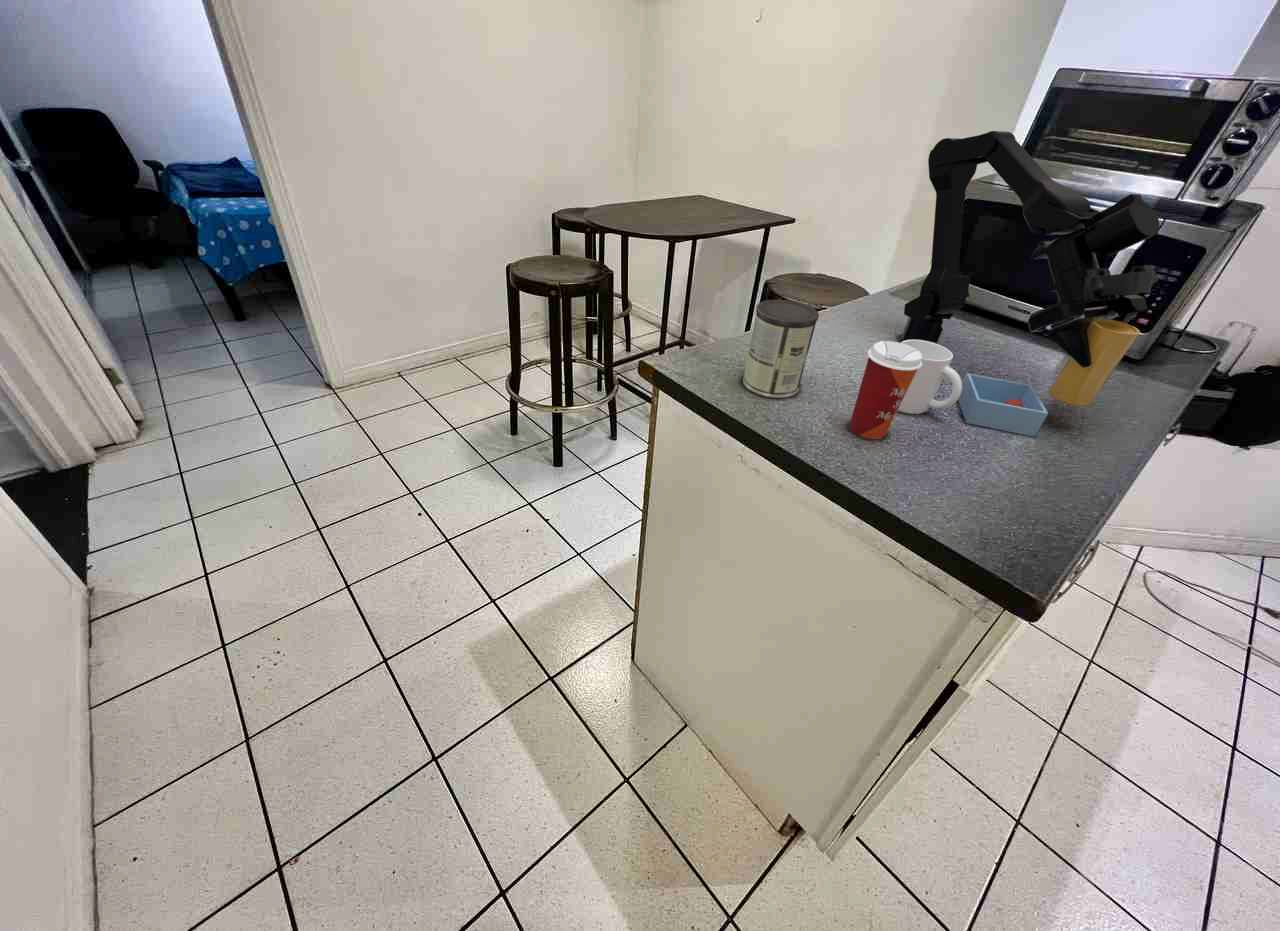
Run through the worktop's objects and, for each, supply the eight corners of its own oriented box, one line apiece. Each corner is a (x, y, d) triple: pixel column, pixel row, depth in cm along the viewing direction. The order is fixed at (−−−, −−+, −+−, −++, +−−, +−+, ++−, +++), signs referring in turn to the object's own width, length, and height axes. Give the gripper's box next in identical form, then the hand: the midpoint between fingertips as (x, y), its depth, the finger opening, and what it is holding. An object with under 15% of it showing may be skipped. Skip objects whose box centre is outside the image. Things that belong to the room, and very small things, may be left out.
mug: (958, 417, 90) (985, 362, 84) (932, 430, 86) (959, 374, 80) (896, 387, 98) (917, 335, 92) (870, 398, 94) (890, 345, 88)
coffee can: (761, 366, 102) (777, 294, 93) (808, 385, 97) (830, 311, 88) (731, 383, 96) (744, 307, 87) (779, 404, 90) (799, 326, 82)
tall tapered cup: (1054, 401, 86) (1099, 329, 79) (1043, 384, 91) (1085, 315, 83) (1096, 409, 85) (1147, 337, 77) (1084, 392, 90) (1130, 322, 82)
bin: (965, 423, 89) (977, 400, 86) (956, 394, 97) (966, 373, 94) (1034, 436, 87) (1048, 413, 84) (1018, 406, 95) (1031, 384, 92)
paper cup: (886, 448, 81) (921, 367, 73) (837, 432, 84) (865, 351, 76) (896, 426, 87) (929, 348, 78) (849, 412, 90) (876, 334, 81)
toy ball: (1003, 399, 92) (995, 413, 92) (1012, 393, 89) (1005, 408, 89) (1020, 407, 91) (1012, 421, 91) (1030, 401, 89) (1022, 416, 88)
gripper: (1090, 246, 74) (1120, 352, 72) (1174, 242, 79) (1203, 340, 78) (1014, 283, 84) (1039, 376, 83) (1093, 277, 90) (1118, 364, 89)
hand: (1101, 364), depth 83 cm, fingers closed on tall tapered cup, 6 cm apart
